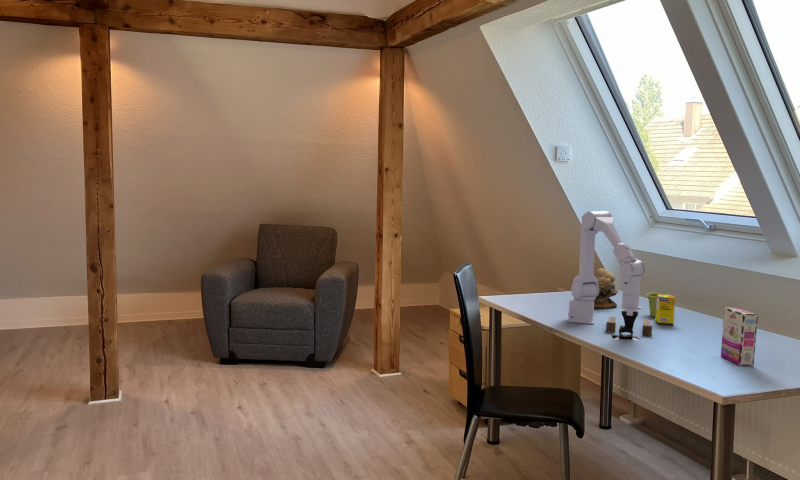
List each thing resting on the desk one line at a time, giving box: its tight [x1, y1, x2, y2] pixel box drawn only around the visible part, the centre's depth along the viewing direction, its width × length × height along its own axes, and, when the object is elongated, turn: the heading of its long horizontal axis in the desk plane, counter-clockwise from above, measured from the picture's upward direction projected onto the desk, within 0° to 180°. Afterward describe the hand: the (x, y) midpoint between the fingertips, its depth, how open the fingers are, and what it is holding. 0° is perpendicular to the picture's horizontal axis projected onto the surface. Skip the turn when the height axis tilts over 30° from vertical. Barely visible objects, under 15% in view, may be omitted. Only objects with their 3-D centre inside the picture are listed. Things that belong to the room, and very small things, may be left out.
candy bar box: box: [720, 307, 759, 367], centre depth 217 cm, size 11×5×16 cm, turn 5°
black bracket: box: [610, 325, 641, 341], centre depth 246 cm, size 12×7×5 cm, turn 83°
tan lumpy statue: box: [594, 267, 619, 310], centre depth 300 cm, size 18×12×17 cm, turn 107°
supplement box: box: [654, 294, 676, 326], centre depth 269 cm, size 6×6×11 cm
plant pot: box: [646, 292, 669, 318], centre depth 283 cm, size 9×9×9 cm
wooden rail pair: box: [605, 316, 653, 337], centre depth 258 cm, size 16×14×4 cm
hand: (628, 331), depth 248 cm, fingers closed
